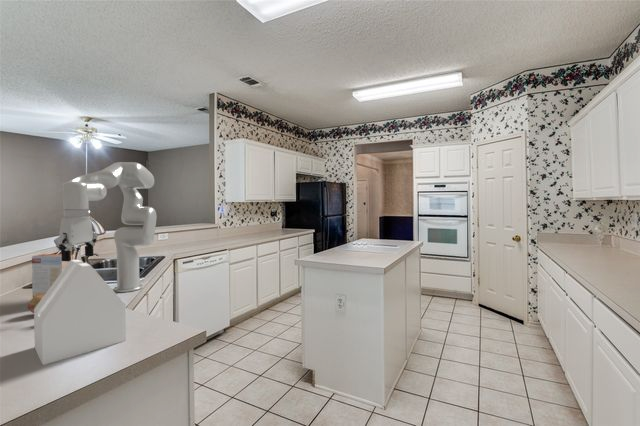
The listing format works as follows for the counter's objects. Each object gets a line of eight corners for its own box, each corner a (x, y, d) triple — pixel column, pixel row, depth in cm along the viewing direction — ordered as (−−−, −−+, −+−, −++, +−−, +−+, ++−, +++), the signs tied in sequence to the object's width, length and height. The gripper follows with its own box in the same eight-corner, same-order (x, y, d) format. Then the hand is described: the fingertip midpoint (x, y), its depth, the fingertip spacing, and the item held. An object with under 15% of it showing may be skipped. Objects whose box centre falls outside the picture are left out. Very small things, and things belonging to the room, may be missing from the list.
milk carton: (42, 365, 80) (41, 271, 80) (34, 347, 90) (33, 264, 90) (125, 341, 95) (124, 261, 94) (110, 328, 105) (109, 256, 104)
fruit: (22, 317, 114) (22, 296, 114) (42, 310, 122) (41, 291, 121) (42, 318, 114) (42, 297, 113) (61, 311, 121) (60, 291, 121)
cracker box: (74, 301, 134) (73, 254, 134) (61, 305, 128) (60, 256, 128) (45, 300, 136) (45, 253, 135) (31, 304, 130) (31, 255, 129)
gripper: (87, 212, 125) (89, 254, 126) (44, 215, 108) (46, 263, 108) (104, 213, 124) (105, 254, 125) (63, 215, 107) (65, 263, 108)
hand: (78, 258), depth 117 cm, fingers open, 9 cm apart
